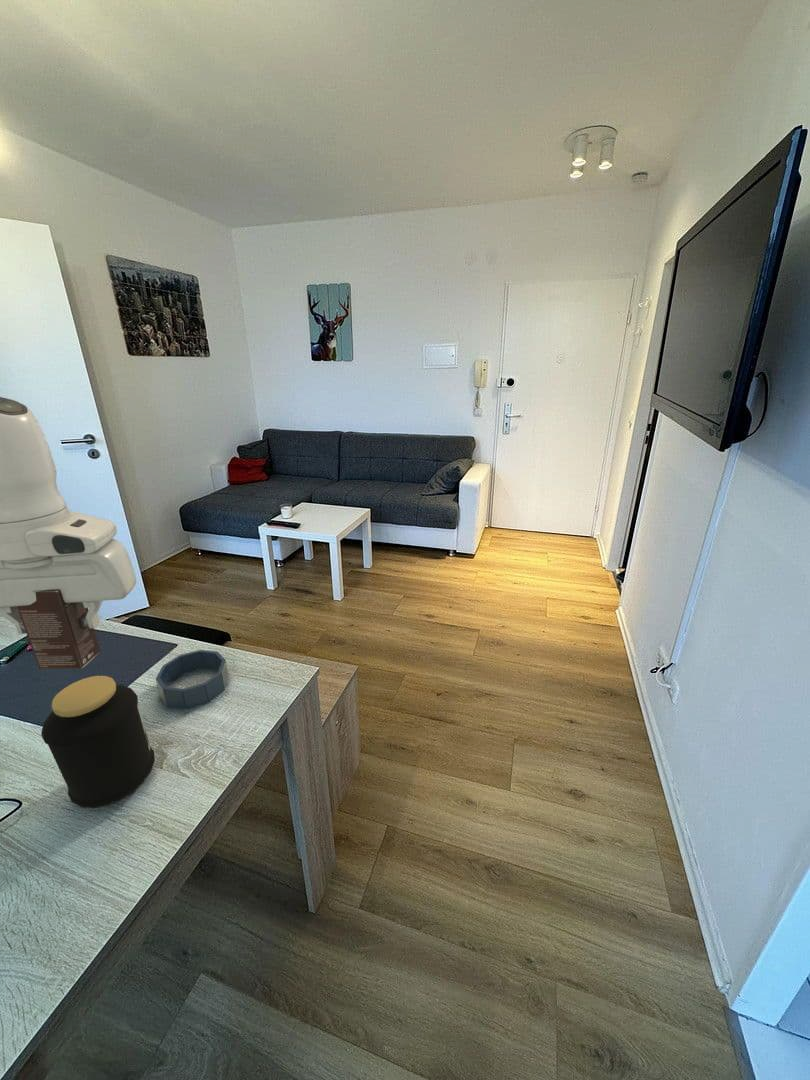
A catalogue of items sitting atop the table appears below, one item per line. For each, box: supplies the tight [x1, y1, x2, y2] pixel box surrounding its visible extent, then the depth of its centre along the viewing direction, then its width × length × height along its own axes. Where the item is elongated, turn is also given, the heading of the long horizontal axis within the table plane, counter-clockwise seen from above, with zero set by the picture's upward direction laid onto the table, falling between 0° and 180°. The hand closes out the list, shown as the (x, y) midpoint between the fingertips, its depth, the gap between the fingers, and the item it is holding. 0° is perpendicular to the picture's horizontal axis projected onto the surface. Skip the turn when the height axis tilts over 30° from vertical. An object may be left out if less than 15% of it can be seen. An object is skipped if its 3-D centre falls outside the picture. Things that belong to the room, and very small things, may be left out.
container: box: [41, 675, 156, 809], centre depth 66 cm, size 12×12×18 cm
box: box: [17, 589, 102, 670], centre depth 58 cm, size 6×4×12 cm
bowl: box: [155, 649, 230, 710], centre depth 89 cm, size 12×13×4 cm
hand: (61, 628), depth 59 cm, fingers closed on box, 6 cm apart
